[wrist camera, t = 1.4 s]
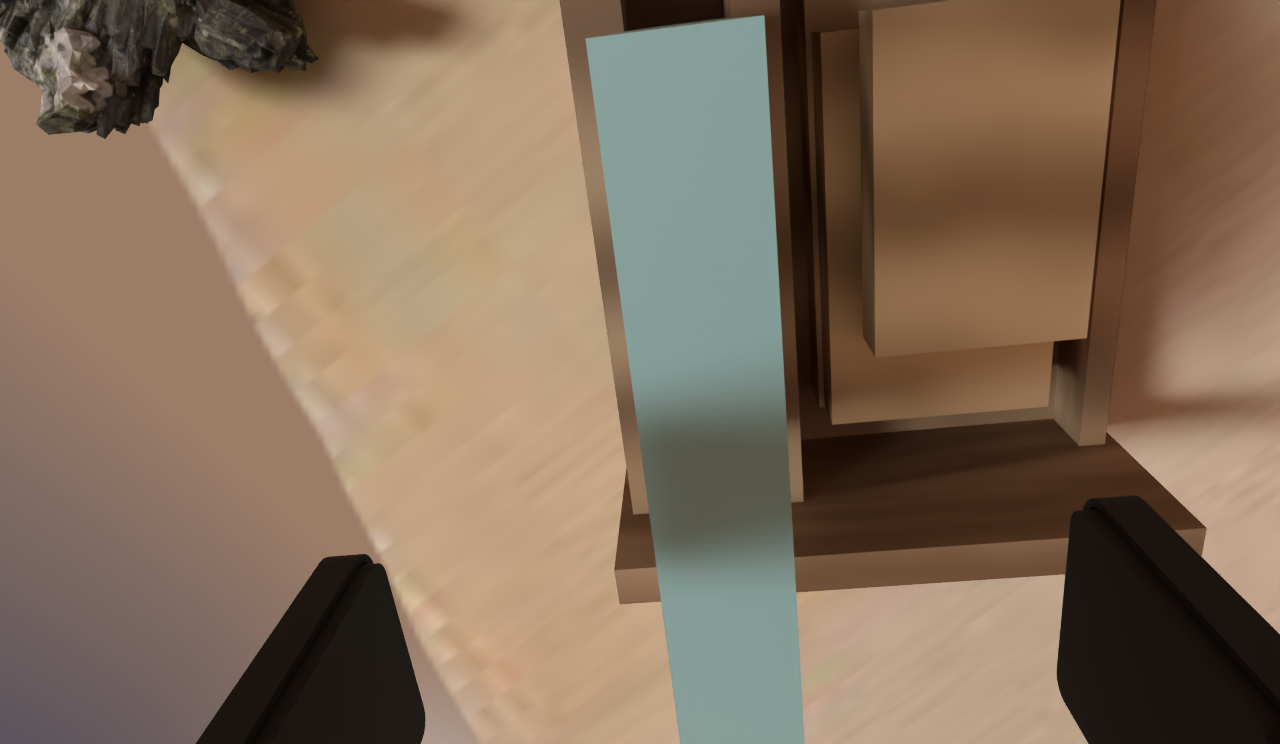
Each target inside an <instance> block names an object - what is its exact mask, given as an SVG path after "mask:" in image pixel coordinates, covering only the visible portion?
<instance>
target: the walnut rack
mask: <svg viewBox="0 0 1280 744" xmlns="http://www.w3.org/2000/svg"><path fill="white" fill-rule="evenodd" d="M560 6H561V13H562V20H563V27H564V34H565V41H566V48H567V55H568V62H569V69H570V76H571V83H572V90H573V97H574V104H575V111H576V118H577V125H578V132H579V139H580V146H581V153H582V160H583V167H584V174H585V180H586V187H587V194H588V201H589V208H590V215H591V222H592V229H593V236H594V243H595V250H596V257H597V264H598V271H599V278H600V285H601V292H602V299H603V306H604V313H605V320H606V327H607V334H608V341H609V348H610V355H611V362H612V369H613V376H614V383H615V389H616V396H617V403H618V410H619V417H620V424H621V431H622V438H623V445H624V452H625V459H626V466H627V469H626V477H625V485H624V494H623V502H622V511H621V519H620V527H619V536H618V544H617V553H616V561H615V569H614V571H615V577H616V583H617V590H618V596H619V602H620V604H630V603H645V602H660V601H661V597H660V589H659V582H658V575H657V567H656V560H655V552H654V545H653V537H652V530H651V523H650V515H649V508H648V500H647V493H646V485H645V478H644V471H643V463H642V456H641V448H640V441H639V433H638V426H637V419H636V411H635V404H634V396H633V389H632V381H631V374H630V367H629V359H628V352H627V344H626V337H625V329H624V322H623V315H622V307H621V300H620V292H619V285H618V277H617V270H616V263H615V255H614V248H613V240H612V233H611V225H610V218H609V211H608V203H607V196H606V188H605V181H604V173H603V166H602V159H601V151H600V144H599V136H598V129H597V121H596V114H595V107H594V99H593V92H592V84H591V77H590V69H589V62H588V55H587V47H586V40H585V38H591V37H596V36H602V35H608V34H614V33H619V32H625V31H631V30H636V29H642V28H649V27H657V26H665V25H673V24H680V23H688V22H696V21H704V20H711V19H724V18H737V17H749V16H762V15H764V19H765V37H766V55H767V73H768V91H769V109H770V128H771V146H772V164H773V182H774V200H775V218H776V237H777V255H778V273H779V291H780V309H781V327H782V346H783V364H784V382H785V400H786V418H787V436H788V454H789V473H790V491H791V509H792V527H793V545H794V563H795V582H796V592H808V591H823V590H838V589H852V588H867V587H882V586H897V585H912V584H926V583H941V582H956V581H971V580H986V579H1001V578H1015V577H1030V576H1045V575H1060V574H1066V563H1067V552H1068V541H1069V530H1070V521H1071V516H1072V514H1073V512H1075V511H1079V510H1083V508H1084V505H1085V503H1086V501H1087V500H1089V499H1091V498H1103V497H1116V496H1129V495H1135V496H1139V497H1140V498H1142V499H1143V500H1144V501H1145V502H1146V503H1147V504H1148V505H1149V506H1150V507H1152V508H1153V509H1154V510H1155V511H1156V512H1157V513H1158V514H1159V515H1160V516H1161V517H1162V518H1163V519H1164V520H1165V521H1166V522H1167V523H1168V524H1169V525H1170V526H1171V527H1172V528H1173V529H1174V530H1175V531H1176V532H1177V533H1178V534H1179V535H1180V536H1181V537H1182V538H1183V539H1184V540H1185V541H1186V542H1187V543H1188V544H1189V545H1190V546H1191V547H1192V548H1193V549H1194V550H1195V551H1196V552H1197V553H1198V554H1199V555H1200V556H1202V551H1203V545H1204V540H1205V534H1206V527H1205V526H1204V525H1203V524H1202V523H1201V522H1200V521H1199V520H1198V519H1197V518H1196V517H1194V516H1193V515H1192V514H1191V513H1190V512H1189V511H1188V510H1187V509H1186V508H1185V507H1184V506H1183V505H1182V504H1181V503H1180V502H1179V501H1178V500H1177V499H1176V498H1175V497H1174V496H1173V495H1172V494H1171V493H1169V492H1168V491H1167V490H1166V489H1165V488H1164V487H1163V486H1162V485H1161V484H1160V483H1159V482H1158V481H1157V480H1156V479H1155V478H1154V477H1153V476H1152V475H1151V474H1150V473H1149V472H1148V471H1147V470H1146V469H1144V468H1143V467H1142V466H1141V465H1140V464H1139V463H1138V462H1137V461H1136V460H1135V459H1134V458H1133V457H1132V456H1131V455H1130V454H1129V453H1128V452H1127V451H1126V450H1125V449H1124V448H1123V447H1122V446H1121V445H1120V444H1118V443H1117V442H1116V441H1115V440H1114V439H1113V438H1112V437H1111V436H1110V435H1109V434H1108V433H1107V432H1106V431H1107V423H1108V414H1109V405H1110V397H1111V388H1112V379H1113V371H1114V362H1115V353H1116V345H1117V336H1118V327H1119V319H1120V310H1121V301H1122V293H1123V284H1124V275H1125V267H1126V258H1127V249H1128V241H1129V232H1130V223H1131V215H1132V206H1133V197H1134V189H1135V180H1136V171H1137V163H1138V154H1139V145H1140V137H1141V128H1142V119H1143V111H1144V102H1145V93H1146V85H1147V76H1148V67H1149V59H1150V50H1151V41H1152V33H1153V24H1154V15H1155V7H1156V0H1121V1H1120V11H1119V21H1118V31H1117V41H1116V51H1115V61H1114V71H1113V81H1112V91H1111V101H1110V111H1109V121H1108V131H1107V141H1106V151H1105V161H1104V171H1103V181H1102V191H1101V201H1100V211H1099V221H1098V231H1097V241H1096V251H1095V261H1094V271H1093V281H1092V291H1091V301H1090V311H1089V321H1088V331H1087V338H1083V339H1073V340H1062V341H1054V343H1053V355H1052V367H1051V379H1050V391H1049V403H1048V407H1036V408H1024V409H1013V410H1001V411H989V412H977V413H965V414H954V415H942V416H930V417H918V418H906V419H895V420H883V421H871V422H859V423H848V424H836V425H833V424H832V422H831V419H830V417H829V414H828V411H827V409H826V407H819V405H818V402H817V399H816V397H815V394H814V391H813V388H812V373H811V349H810V324H809V300H808V276H807V251H806V227H805V202H804V178H803V153H802V129H801V104H800V80H799V55H798V31H797V6H796V0H560Z"/></svg>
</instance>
